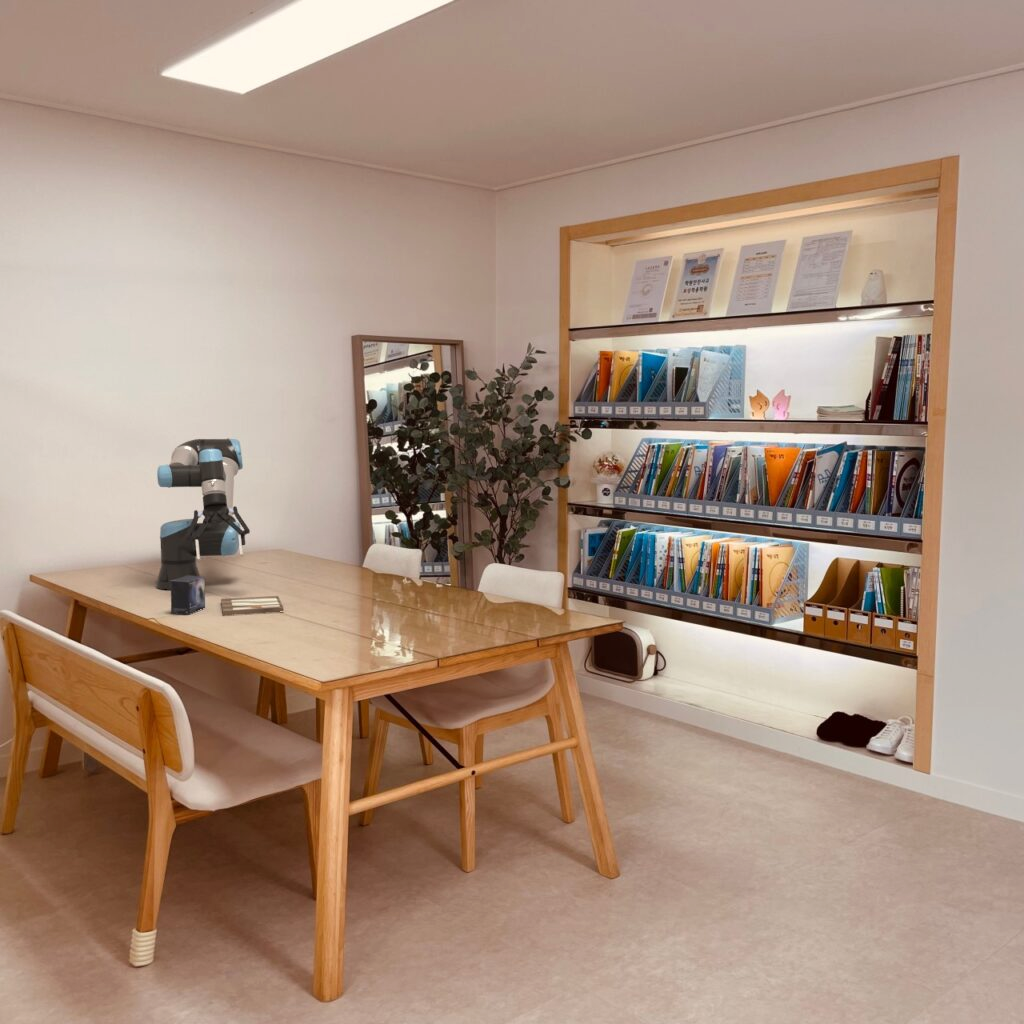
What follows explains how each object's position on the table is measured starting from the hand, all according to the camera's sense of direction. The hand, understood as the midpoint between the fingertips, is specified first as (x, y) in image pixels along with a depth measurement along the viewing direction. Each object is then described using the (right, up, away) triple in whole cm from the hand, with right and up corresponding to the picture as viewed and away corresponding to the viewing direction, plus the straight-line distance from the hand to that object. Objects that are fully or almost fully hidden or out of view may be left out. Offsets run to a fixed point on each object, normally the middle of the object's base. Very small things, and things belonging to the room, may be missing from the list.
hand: (220, 557), depth 342 cm
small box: (-5, -16, -17) cm, 24 cm away
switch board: (+13, -15, -11) cm, 23 cm away
